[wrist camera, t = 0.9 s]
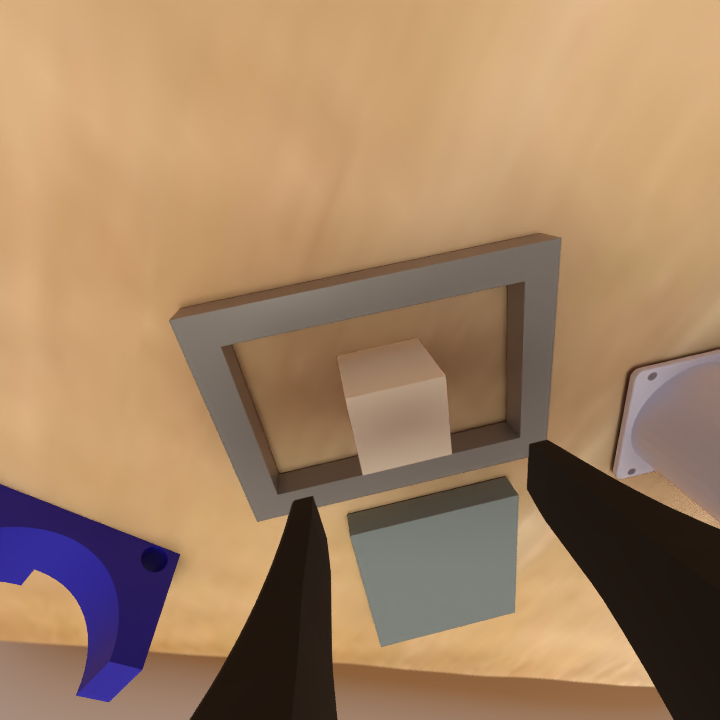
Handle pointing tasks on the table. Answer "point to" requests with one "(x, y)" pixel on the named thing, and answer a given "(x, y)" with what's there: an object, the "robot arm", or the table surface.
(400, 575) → the slate pad
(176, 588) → the table surface
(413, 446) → the cream block
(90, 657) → the cable clip
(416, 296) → the pocket frame
